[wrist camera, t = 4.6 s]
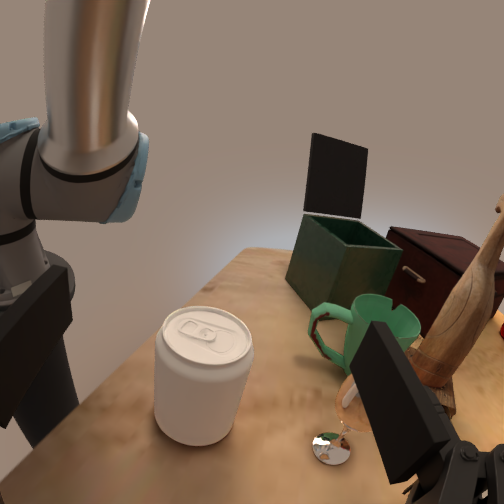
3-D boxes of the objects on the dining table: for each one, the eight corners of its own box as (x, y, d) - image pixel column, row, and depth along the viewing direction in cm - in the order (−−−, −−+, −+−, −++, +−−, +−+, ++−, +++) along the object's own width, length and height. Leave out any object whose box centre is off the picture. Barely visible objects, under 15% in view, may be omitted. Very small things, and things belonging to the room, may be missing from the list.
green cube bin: (375, 314, 56) (403, 250, 50) (319, 320, 50) (346, 246, 45) (338, 278, 67) (358, 220, 62) (284, 278, 62) (303, 213, 56)
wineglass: (315, 421, 31) (358, 344, 26) (359, 437, 29) (413, 364, 25) (299, 458, 26) (348, 384, 21) (349, 476, 24) (412, 407, 20)
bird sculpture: (444, 371, 42) (530, 190, 30) (452, 420, 32) (571, 205, 19) (389, 353, 45) (470, 158, 32) (388, 403, 35) (503, 162, 22)
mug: (380, 353, 45) (407, 301, 41) (395, 398, 36) (431, 342, 32) (293, 337, 45) (313, 279, 41) (293, 385, 36) (320, 323, 32)
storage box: (431, 352, 47) (470, 279, 41) (359, 286, 65) (383, 222, 59) (499, 322, 63) (524, 273, 57) (445, 280, 81) (464, 235, 75)
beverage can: (216, 461, 24) (240, 384, 20) (140, 427, 26) (135, 341, 21) (241, 404, 32) (268, 322, 27) (175, 378, 33) (183, 292, 28)
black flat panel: (368, 148, 59) (365, 149, 59) (314, 132, 53) (311, 133, 54) (360, 218, 61) (358, 218, 62) (305, 211, 56) (303, 211, 56)
